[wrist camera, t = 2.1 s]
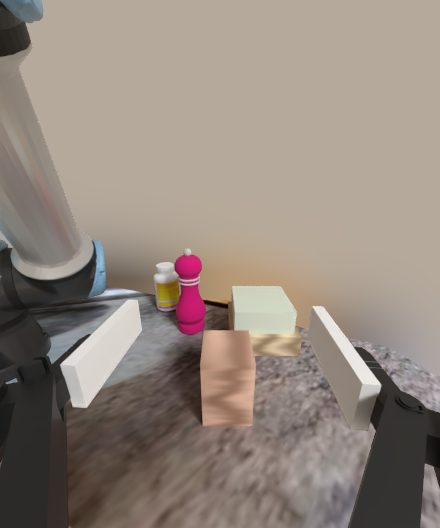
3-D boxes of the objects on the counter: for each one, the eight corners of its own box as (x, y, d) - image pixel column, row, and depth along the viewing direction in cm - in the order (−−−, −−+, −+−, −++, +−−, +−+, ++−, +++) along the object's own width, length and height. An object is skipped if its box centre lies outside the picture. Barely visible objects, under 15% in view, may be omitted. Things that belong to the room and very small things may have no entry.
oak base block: (230, 357, 43) (230, 337, 42) (228, 318, 57) (228, 302, 55) (299, 357, 43) (302, 337, 42) (280, 318, 57) (282, 302, 55)
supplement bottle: (183, 308, 61) (180, 266, 57) (161, 315, 58) (156, 270, 53) (175, 298, 66) (172, 259, 62) (154, 304, 63) (149, 263, 59)
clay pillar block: (202, 426, 30) (200, 364, 27) (205, 384, 37) (204, 330, 33) (251, 426, 30) (255, 364, 27) (246, 383, 37) (248, 330, 33)
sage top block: (234, 333, 43) (234, 312, 41) (231, 304, 54) (231, 286, 52) (294, 334, 43) (296, 312, 41) (278, 304, 54) (280, 286, 52)
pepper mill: (209, 333, 50) (207, 251, 44) (177, 338, 48) (171, 254, 42) (203, 316, 57) (201, 243, 50) (176, 320, 55) (169, 245, 48)
